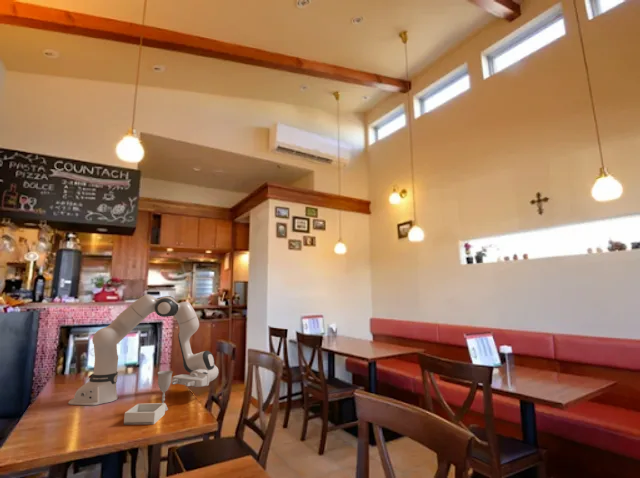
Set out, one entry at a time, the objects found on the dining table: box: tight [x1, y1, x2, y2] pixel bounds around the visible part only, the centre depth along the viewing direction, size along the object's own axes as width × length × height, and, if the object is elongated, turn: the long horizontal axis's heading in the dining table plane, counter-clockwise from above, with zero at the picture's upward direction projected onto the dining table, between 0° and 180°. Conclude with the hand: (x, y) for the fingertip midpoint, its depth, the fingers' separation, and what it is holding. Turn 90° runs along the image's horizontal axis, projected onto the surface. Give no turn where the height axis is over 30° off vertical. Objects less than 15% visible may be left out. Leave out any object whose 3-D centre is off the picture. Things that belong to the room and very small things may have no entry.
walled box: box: [123, 402, 167, 426], centre depth 160 cm, size 13×13×5 cm
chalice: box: [157, 370, 174, 412], centre depth 174 cm, size 7×7×18 cm
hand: (179, 383), depth 185 cm, fingers open, 8 cm apart
